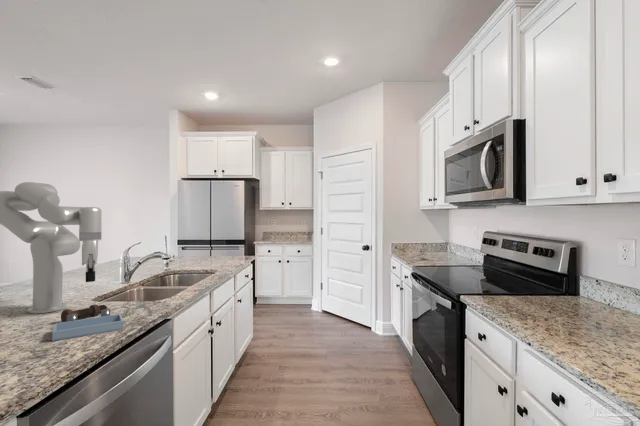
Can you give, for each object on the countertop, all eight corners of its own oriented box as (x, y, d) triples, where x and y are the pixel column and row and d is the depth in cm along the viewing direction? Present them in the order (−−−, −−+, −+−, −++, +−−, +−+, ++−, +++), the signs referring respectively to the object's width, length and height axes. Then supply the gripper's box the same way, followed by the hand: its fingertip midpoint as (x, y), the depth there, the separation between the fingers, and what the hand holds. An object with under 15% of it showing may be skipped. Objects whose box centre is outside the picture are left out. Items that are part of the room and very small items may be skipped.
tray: (54, 332, 109) (54, 323, 109) (120, 321, 121) (120, 313, 121) (52, 341, 101) (52, 332, 101) (123, 329, 113) (123, 320, 113)
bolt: (106, 317, 131) (65, 327, 117) (99, 310, 133) (58, 319, 119) (111, 306, 130) (70, 315, 116) (104, 298, 132) (64, 306, 118)
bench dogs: (66, 327, 114) (67, 314, 114) (110, 320, 122) (110, 308, 122) (66, 329, 112) (66, 316, 112) (110, 322, 120) (110, 310, 120)
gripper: (79, 236, 135) (79, 279, 135) (78, 238, 123) (78, 285, 123) (100, 235, 140) (100, 277, 139) (102, 237, 128) (102, 283, 127)
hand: (90, 281), depth 131 cm, fingers closed
